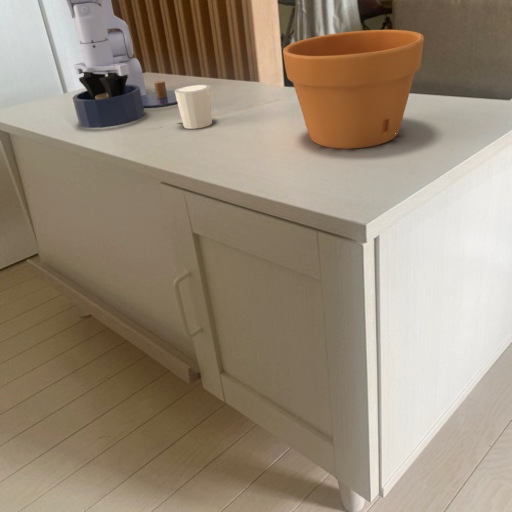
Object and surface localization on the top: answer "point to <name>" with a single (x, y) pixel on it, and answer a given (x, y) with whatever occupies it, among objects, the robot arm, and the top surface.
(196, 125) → the white cup
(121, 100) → the pot
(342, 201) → the top surface
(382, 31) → the flower pot
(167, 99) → the pot lid
